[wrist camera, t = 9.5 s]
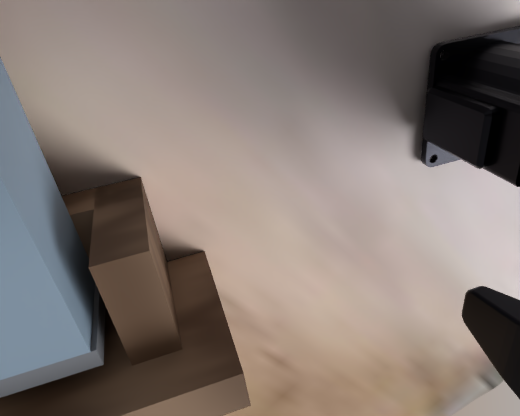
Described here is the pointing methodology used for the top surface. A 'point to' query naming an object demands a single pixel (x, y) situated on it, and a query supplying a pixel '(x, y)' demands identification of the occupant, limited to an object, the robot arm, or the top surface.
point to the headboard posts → (143, 323)
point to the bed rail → (40, 266)
